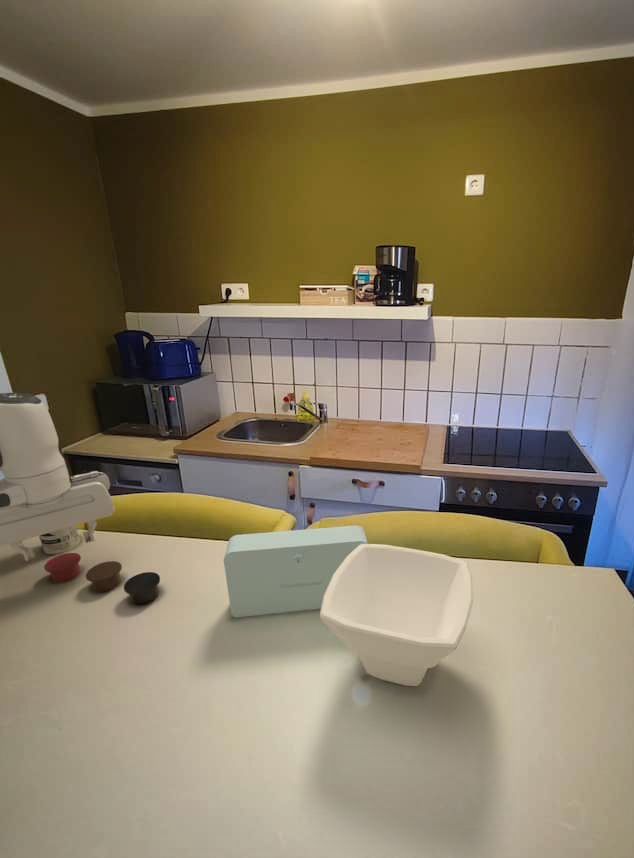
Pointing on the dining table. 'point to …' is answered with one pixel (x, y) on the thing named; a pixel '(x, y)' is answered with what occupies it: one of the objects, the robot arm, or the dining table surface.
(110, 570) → the pod brown
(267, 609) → the mint green box
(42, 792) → the dining table surface
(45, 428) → the robot arm
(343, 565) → the bowl
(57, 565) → the pod burgundy
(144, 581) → the pod black
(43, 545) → the spray can
